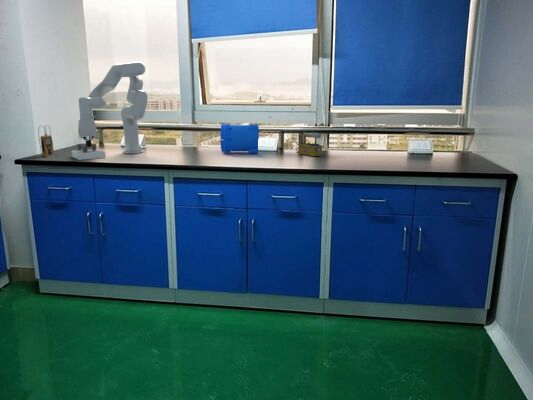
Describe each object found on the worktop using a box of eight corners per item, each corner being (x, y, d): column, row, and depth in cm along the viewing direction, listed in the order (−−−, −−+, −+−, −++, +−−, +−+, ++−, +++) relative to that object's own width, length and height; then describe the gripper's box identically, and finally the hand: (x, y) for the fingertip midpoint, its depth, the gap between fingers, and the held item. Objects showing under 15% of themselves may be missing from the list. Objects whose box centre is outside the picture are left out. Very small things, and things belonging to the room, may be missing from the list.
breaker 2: (86, 151, 277) (85, 145, 276) (87, 151, 275) (87, 146, 274) (82, 151, 276) (81, 145, 275) (83, 152, 274) (83, 146, 273)
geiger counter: (313, 157, 288) (314, 133, 284) (289, 152, 309) (290, 130, 305) (324, 155, 293) (324, 133, 289) (300, 151, 314) (300, 130, 310)
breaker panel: (97, 154, 294) (96, 148, 293) (105, 157, 282) (104, 151, 281) (72, 156, 285) (71, 150, 284) (79, 159, 272) (78, 153, 271)
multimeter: (52, 158, 279) (49, 126, 274) (38, 157, 281) (34, 125, 276) (67, 155, 293) (64, 124, 288) (53, 154, 295) (50, 124, 290)
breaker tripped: (95, 149, 286) (94, 143, 285) (96, 149, 284) (95, 143, 283) (91, 149, 284) (90, 143, 284) (92, 150, 283) (92, 144, 282)
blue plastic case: (220, 154, 299) (219, 125, 294) (224, 150, 320) (223, 122, 316) (257, 154, 298) (257, 125, 294) (258, 150, 320) (258, 123, 315)
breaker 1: (81, 149, 286) (80, 143, 285) (82, 149, 284) (81, 144, 284) (77, 149, 285) (76, 144, 284) (78, 150, 283) (77, 144, 282)
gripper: (96, 117, 285) (99, 145, 289) (72, 117, 276) (74, 147, 280) (100, 117, 279) (102, 146, 283) (75, 118, 270) (78, 148, 275)
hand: (88, 146), depth 282 cm, fingers closed
